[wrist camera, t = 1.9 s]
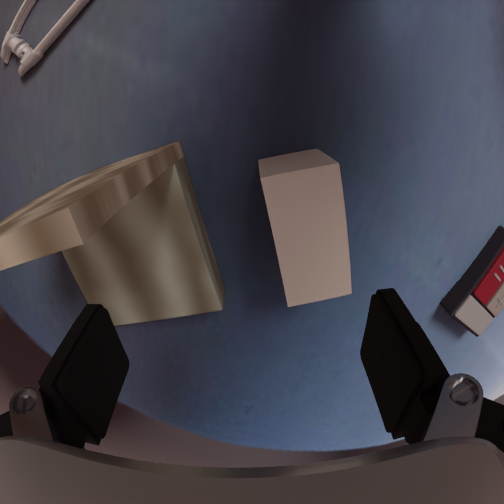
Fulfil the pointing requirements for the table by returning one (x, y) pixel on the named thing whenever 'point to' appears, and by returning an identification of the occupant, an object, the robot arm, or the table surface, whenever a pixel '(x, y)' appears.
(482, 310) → the small patterned box
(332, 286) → the pale taupe block
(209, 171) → the table surface
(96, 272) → the beige zigzag bookend
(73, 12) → the door handle
